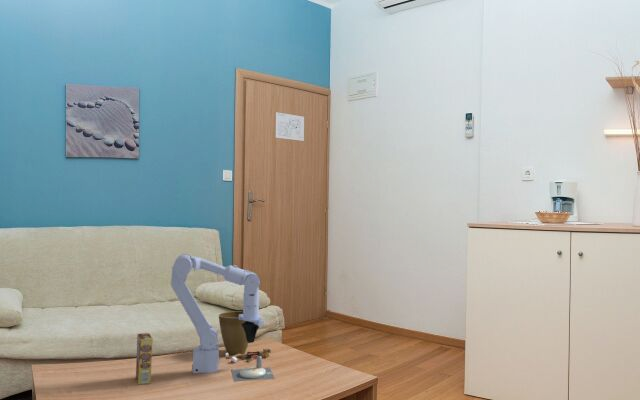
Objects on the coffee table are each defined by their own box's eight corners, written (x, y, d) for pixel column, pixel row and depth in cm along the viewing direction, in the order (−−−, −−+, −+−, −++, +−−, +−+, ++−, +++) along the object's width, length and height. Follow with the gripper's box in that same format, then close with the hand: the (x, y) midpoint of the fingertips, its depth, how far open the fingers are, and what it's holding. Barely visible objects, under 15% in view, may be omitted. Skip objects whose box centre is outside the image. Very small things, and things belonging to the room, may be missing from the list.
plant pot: (259, 354, 206) (260, 315, 207) (225, 359, 199) (225, 319, 199) (246, 346, 219) (246, 309, 220) (213, 350, 212) (213, 312, 212)
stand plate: (234, 384, 170) (234, 381, 170) (231, 372, 183) (231, 369, 183) (275, 381, 174) (275, 378, 174) (269, 370, 186) (269, 367, 186)
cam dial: (256, 379, 172) (256, 364, 172) (234, 375, 176) (235, 360, 176) (270, 372, 180) (271, 357, 181) (249, 368, 184) (250, 354, 184)
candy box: (151, 383, 171) (152, 338, 171) (138, 385, 169) (139, 339, 169) (148, 375, 179) (149, 332, 179) (135, 377, 177) (136, 333, 177)
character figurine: (224, 361, 198) (224, 351, 198) (267, 355, 207) (267, 345, 207) (232, 367, 190) (232, 357, 190) (276, 361, 198) (276, 351, 199)
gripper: (270, 307, 184) (270, 344, 183) (250, 301, 195) (249, 336, 195) (254, 309, 179) (253, 347, 179) (234, 303, 191) (233, 339, 190)
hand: (250, 342), depth 186 cm, fingers closed
